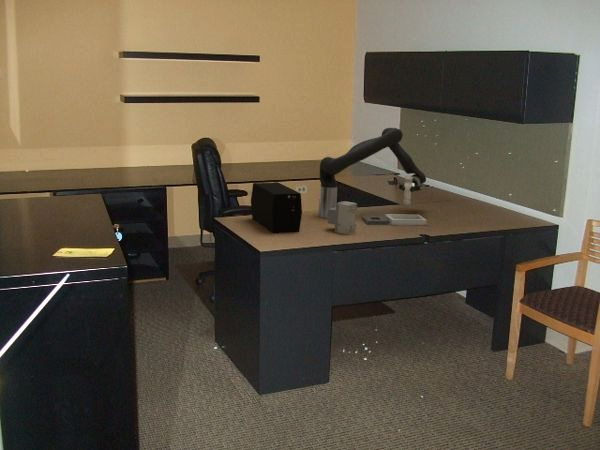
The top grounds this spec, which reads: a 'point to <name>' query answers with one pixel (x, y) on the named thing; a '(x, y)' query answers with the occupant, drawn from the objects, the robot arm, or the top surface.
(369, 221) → the fuse holder
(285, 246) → the top surface
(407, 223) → the tray
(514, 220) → the top surface
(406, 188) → the fuse
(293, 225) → the uninterruptible power supply
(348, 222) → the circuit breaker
